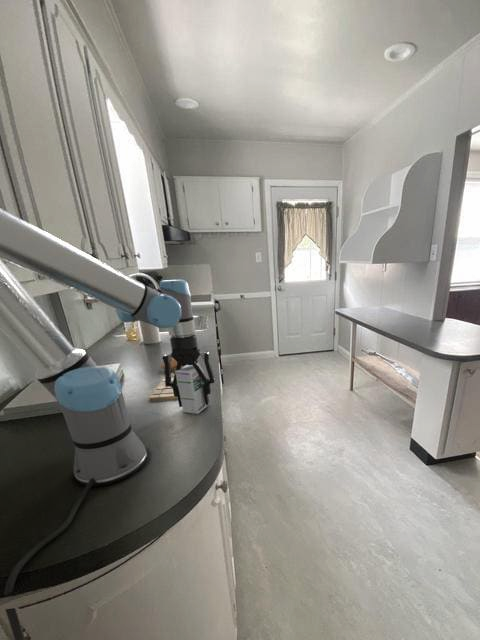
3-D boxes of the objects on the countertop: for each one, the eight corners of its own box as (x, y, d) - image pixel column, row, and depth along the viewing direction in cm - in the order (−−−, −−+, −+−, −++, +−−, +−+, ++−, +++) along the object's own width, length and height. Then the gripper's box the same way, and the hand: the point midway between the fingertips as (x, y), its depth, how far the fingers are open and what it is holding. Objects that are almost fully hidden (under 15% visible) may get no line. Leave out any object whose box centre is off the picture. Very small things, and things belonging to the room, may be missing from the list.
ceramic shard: (149, 358, 135) (177, 354, 148) (151, 372, 136) (179, 367, 149) (170, 358, 127) (198, 354, 140) (172, 373, 129) (199, 368, 141)
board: (190, 398, 107) (190, 394, 106) (150, 401, 106) (149, 397, 105) (200, 376, 127) (199, 372, 127) (165, 378, 126) (165, 375, 125)
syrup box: (198, 414, 96) (190, 371, 90) (182, 412, 98) (174, 369, 92) (208, 406, 101) (201, 365, 95) (192, 404, 103) (185, 363, 97)
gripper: (218, 330, 94) (227, 396, 103) (150, 334, 92) (165, 401, 101) (216, 335, 87) (225, 406, 96) (142, 340, 85) (159, 412, 94)
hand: (194, 403), depth 98 cm, fingers closed on syrup box, 7 cm apart
